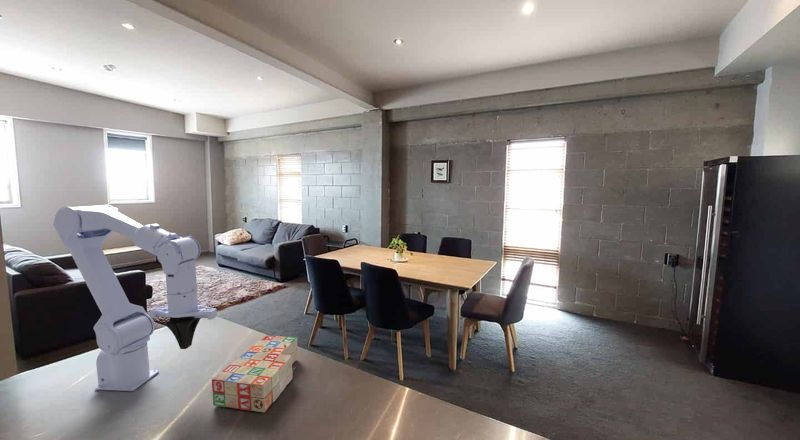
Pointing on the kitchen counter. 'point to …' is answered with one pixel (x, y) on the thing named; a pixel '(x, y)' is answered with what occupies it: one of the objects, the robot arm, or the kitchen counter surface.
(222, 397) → the stack of blocks
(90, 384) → the kitchen counter surface
